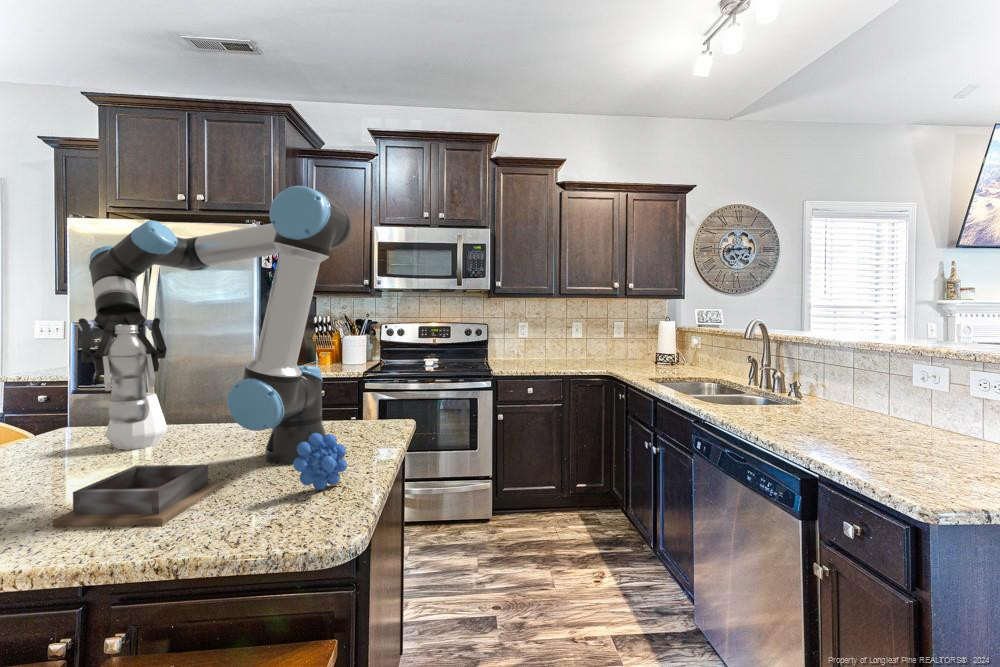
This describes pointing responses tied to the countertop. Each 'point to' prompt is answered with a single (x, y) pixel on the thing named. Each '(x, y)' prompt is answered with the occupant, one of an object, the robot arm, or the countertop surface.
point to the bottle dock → (139, 496)
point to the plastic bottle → (127, 376)
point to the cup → (139, 429)
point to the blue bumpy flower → (320, 461)
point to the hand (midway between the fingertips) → (131, 384)
